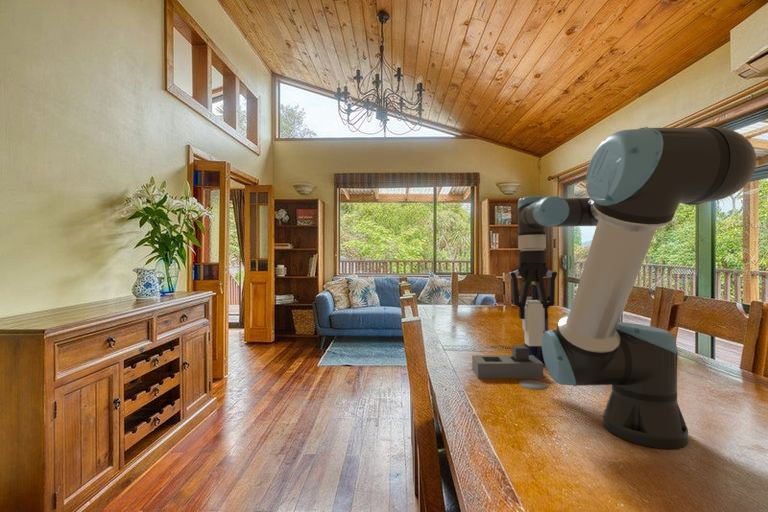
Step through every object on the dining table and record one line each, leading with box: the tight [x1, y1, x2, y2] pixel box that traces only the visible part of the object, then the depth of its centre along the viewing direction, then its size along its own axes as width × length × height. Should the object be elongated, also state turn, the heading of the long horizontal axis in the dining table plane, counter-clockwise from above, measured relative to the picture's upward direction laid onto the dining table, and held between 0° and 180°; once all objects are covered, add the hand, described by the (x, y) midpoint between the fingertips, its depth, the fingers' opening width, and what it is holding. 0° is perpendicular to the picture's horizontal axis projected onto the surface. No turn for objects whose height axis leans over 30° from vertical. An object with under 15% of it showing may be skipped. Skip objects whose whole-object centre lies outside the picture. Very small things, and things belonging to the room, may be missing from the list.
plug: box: [523, 299, 543, 346], centre depth 107 cm, size 4×4×13 cm
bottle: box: [523, 281, 549, 365], centre depth 132 cm, size 9×9×30 cm
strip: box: [471, 344, 544, 379], centre depth 118 cm, size 10×20×9 cm, turn 88°
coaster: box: [518, 379, 549, 391], centre depth 108 cm, size 8×8×1 cm
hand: (533, 329), depth 107 cm, fingers closed on plug, 4 cm apart
